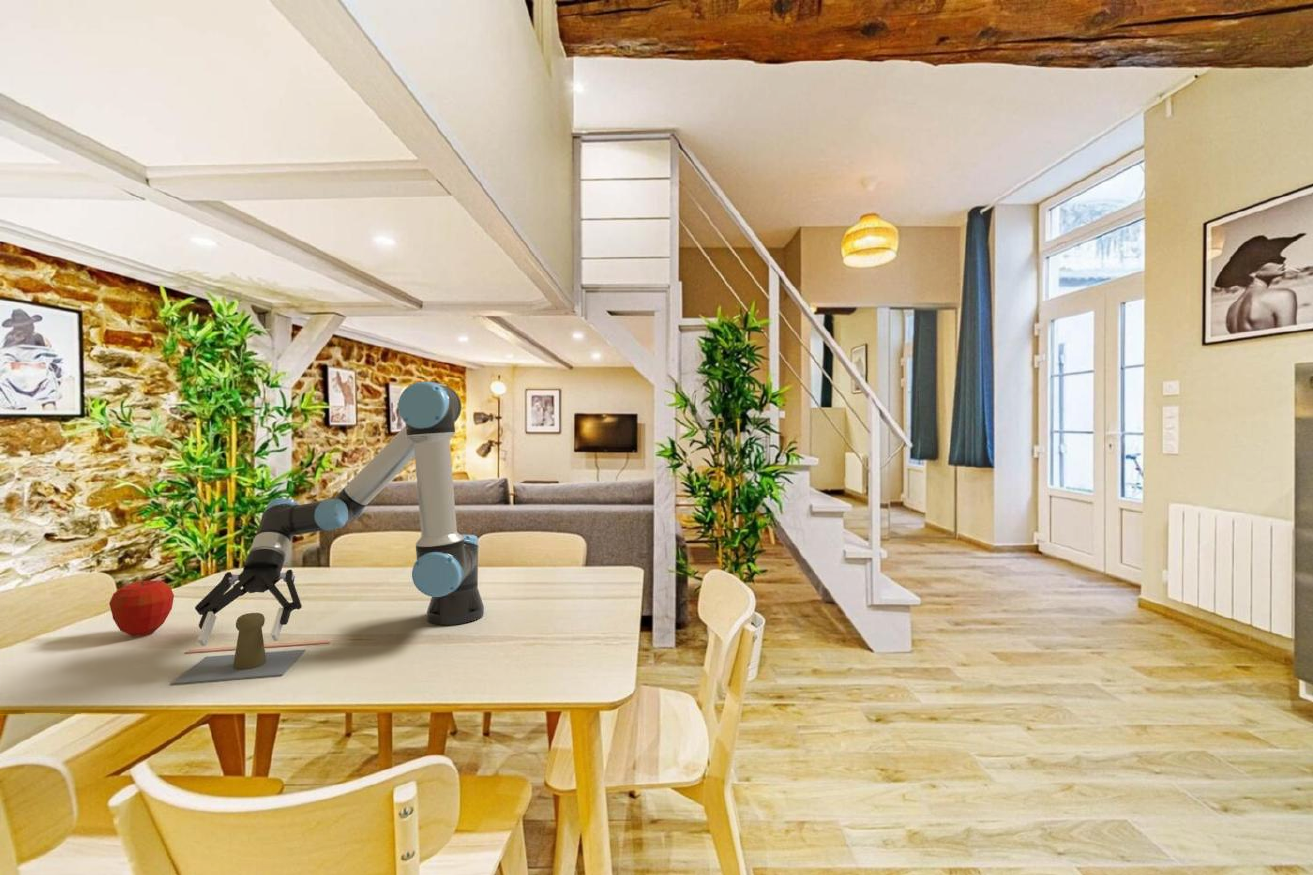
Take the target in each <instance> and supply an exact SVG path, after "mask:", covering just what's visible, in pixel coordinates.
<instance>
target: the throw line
mask: <svg viewBox="0 0 1313 875" xmlns="http://www.w3.org/2000/svg"><path fill="white" fill-rule="evenodd" d="M331 642H332V639H326V640H312V641H311V640H309V641H297V642H294V641H293V642H284V643H282V642H281V643H268V644H267V643H266V644H265V643H264V648H265V649H268V648H269V649H270V648H281V647H295V646H296V647H297V646H310V645H325V644H326V645H329V644H330V643H331ZM228 650H229V651H236V646H228V647H227V646H226V647H225V646H223V647H211V648H210V647H209V648H194V649H188V650H186V651H185V652H184V654H186V653H187V654H200V653H212V652H213V651H215V652H227V651H228ZM213 653H214V652H213Z"/></svg>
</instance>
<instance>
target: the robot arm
mask: <svg viewBox="0 0 1313 875" xmlns="http://www.w3.org/2000/svg"><path fill="white" fill-rule="evenodd" d="M397 408H398V409H397V410H398V413H399V415H400V417H401V419H402V420H403V422H404V423H405V425H404V426H403V427H402V429H400V430H399V431H398V433H396V434H395V435H394V436H393V438H392V439H391V440H390V441H389V442H388V443H386V445H385V446H384V447H382V448H381V450H380V451H379V452H378V453H377V454H376V455H375V456H374V457H373V458H371V460H370V461H368V463H366V465H365V466H364V467H363V468H362V469H361V470H360V471H359V472H358V473H357V474H356V475H355V476H354V477H353V478H352V479H351V480H350V481H349V482H348V483H347V484H346V485H345V486H344V487H343V489H341V490H340V491H339V492H338V493H337V494H336V495H335V496H334V497H331V498H328V499H323V500H319V501H315V502H309V503H303V504H302V503H301V504H299V503H298V502H297V501H296V500H295V499H291V498H284V497H277V498H274V499H272V500H270V501H269V502H268V504H267V506H266V507H265V509H264V511H263V512H262V515H261V518H260V521H259V522H260V523H259V526H258V529H257V530H256V533H255V537H254V539H253V542H252V544H251V546H250V548H249V553H248V554H247V557H246V559H245V563H244V565H243V570H242V572H240V574H233V573H232V572H231V571H228V572H225V574H224V576H223V577H222V579H221V581H220V582H219V583H218V584H216V586H214V588H212V589H211V590H210V592H208V594H207V595H205V596H204V598H202V599H201V600H200V602H199V601H198V603H197V604H196V606H194V609H195V611H196V612H197V614H198V615H199V616H201V617H200V621H199V623H198V628H199V630H200V631H199V634H198V637H197V638H196V640H197V642H198V644H200V646H201V647H205V646H207V644H208V642H209V638H210V636H211V633H212V630H213V627H214V625H215V622H216V620H217V616H216V614H218V612H221V610H223V609H225V607H227V606H228V605H230V604H231V603H232V602H234V601H235V600H236V599H238V598H239V597H243V596H245V594H247V593H248V594H255V593H260V594H261V593H265V592H267V591H269V593H271V595H273V597H274V599H276V601H277V602H278V603H279V604H280V606H282V607H279V608H278V609H277V610H278V611H277V613H276V615H275V616H276V617H275V620H274V623H273V626H272V630H271V633H270V637H271V638H272V639H273V642H276V641H279V638H280V634H281V631H282V627H283V625H288V623H289V620H290V615H291V613H292V611H294V610H300V609H302V607H303V605H302V603H301V600H300V596H299V594H298V591H297V589H296V585H295V574H294V572H293V570H292V569H287V570H286V572H282V570H283V566H284V563H285V558H286V556H287V555H288V550H289V547H290V544H291V541H292V538H293V537H294V536H298V535H303V534H311V533H319V532H324V531H333V530H337V529H341V528H343V527H345V526H346V524H347V523H352V522H354V521H355V520H357V519H358V518H359V517H361V516H362V515H363V512H364V509H365V508H366V507H367V505H368V504H369V503H370V502H371V501H372V500H373V499H374V498H375V497H376V496H377V495H378V494H380V492H381V491H382V490H383V489H384V488H385V487H386V486H387V485H388V484H389V483H390V482H391V481H392V480H393V479H394V478H395V477H396V476H397V475H398V474H399V473H400V472H401V471H403V469H404V468H405V467H406V466H407V465H408V464H409V463H410V462H411V461H412V460H413V459H414V462H415V463H414V464H415V471H416V473H415V474H416V484H417V485H416V486H417V496H418V500H417V501H418V508H419V509H418V510H419V523H420V534H421V536H420V538H419V539H418V540H417V542H416V543H415V552H416V553H415V554H416V555H415V556H416V561H415V562H414V564H413V567H412V570H411V579H412V583H413V585H414V586H415V588H416V589H417V590H418V591H419V592H421V594H423V595H425V596H428V597H431V599H430V601H429V605H428V607H427V610H426V620H427V622H428V623H430V624H435V625H440V626H454V625H462V623H463V624H467V623H466V622H468V623H471V622H470V621H472V622H474V621H473V620H475V619H477V620H480V619H481V618H482V617H483V616H484V615H485V607H484V606H485V605H484V603H483V599H482V597H481V593H480V591H479V585H478V581H479V580H478V579H479V578H478V577H479V575H478V574H479V547H480V545H479V539H478V536H477V535H474V534H460V533H459V532H458V529H457V528H458V527H457V515H456V503H455V492H454V491H455V490H454V478H453V467H452V466H453V464H452V455H451V454H452V452H451V442H450V441H451V439H452V438H453V437H454V435H456V426H455V423H456V422H457V421H458V419H459V418H460V416H461V412H462V401H461V398H460V397H459V395H458V393H457V392H456V391H455V390H454V389H452V388H451V387H449V386H446V385H443V384H439V383H437V382H434V381H418V382H414V383H413V384H410V385H408V386H407V387H406V388H405V389H404V390H403V391H402V392H401V394H400V396H399V398H398V403H397ZM280 580H283V582H285V584H286V586H287V589H288V591H289V594H290V597H291V601H292V602H289V601H288V599H286V597H285V596H284V594H283V593H282V592H281V591H280V589H278V588H279V587H277V586H276V584H277V583H278V582H279V581H280ZM236 582H237V583H236ZM232 586H233V587H232ZM231 587H232V588H231ZM483 614H484V615H483ZM479 618H480V619H479ZM475 621H476V620H475Z"/></svg>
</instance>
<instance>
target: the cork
mask: <svg viewBox="0 0 1313 875" xmlns="http://www.w3.org/2000/svg"><path fill="white" fill-rule="evenodd" d="M265 619H266V618H265V615H264V614H262V613H260V612H250V613H244V614H241V615H240V616H239V617H238V618H237V619H236V621H235V628H236V630H237V631H238V635H237V641H236V646H235V647H236V650H235V653H234V655H235V658H234V664H233V668H234V669H236V670H246V669H252V668H256V667H259V666H262V665H263V664H265V663H266V655H265V652H266V650H265V649H266V648H264V645H265V642H264V635H263V627H264V625H265V621H266V620H265Z"/></svg>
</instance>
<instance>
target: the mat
mask: <svg viewBox="0 0 1313 875" xmlns="http://www.w3.org/2000/svg"><path fill="white" fill-rule="evenodd" d="M304 652H306V649H293V650H291V649H290V650H280V651H265V655H266V663H265V664H263V665H262V666H259V667H256V668H252V669H246V670H236V669H234V668H233V664H234V658H235V654H225V655H209V656H205V657H203V658H202V659H200V661H198V662H197V663H195V664H194V665H193V666H192V667H190V668H189V669H188V670H186V671H185V672H183V673H182V674H181V675H180V676H178V677H177V678H175V679H174V680H173V681H171V682H170V686H175V685H176V686H177V685H187V684H199V683H201V684H202V683H211V682H224V681H226V682H227V681H236V680H237V681H238V680H249V679H260V678H273V677H274V678H275V677H282V676H284V675H285V673H286V672H288V670H289V669H290V668H291V667H292V666H293V665H294V664H295V663H296V662H297V661H298V659H299V658H301V656H302V655H303V654H304Z"/></svg>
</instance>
